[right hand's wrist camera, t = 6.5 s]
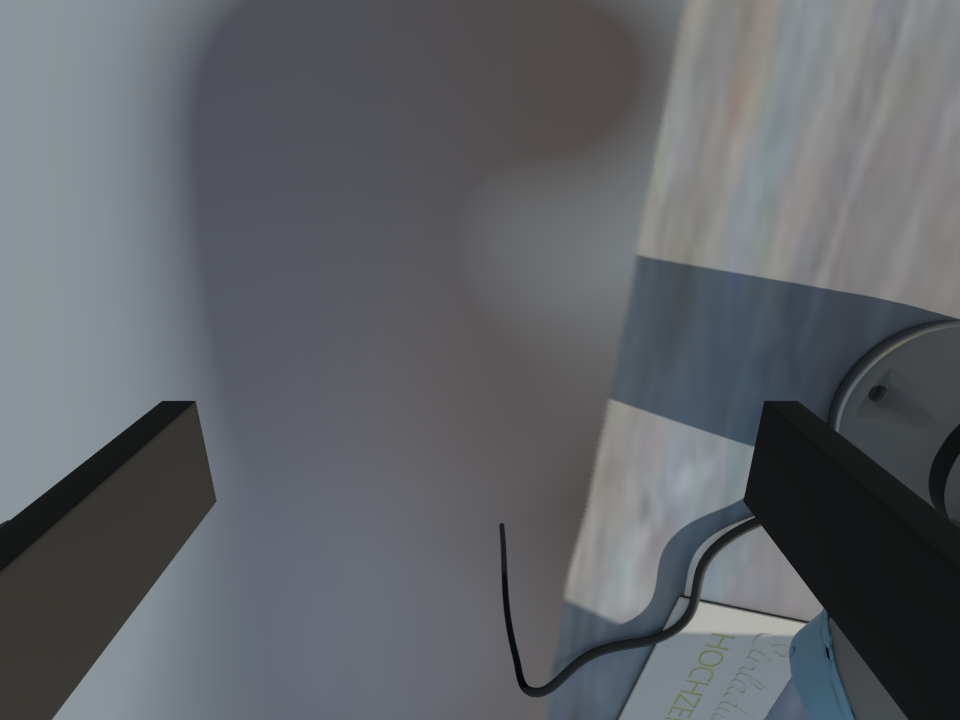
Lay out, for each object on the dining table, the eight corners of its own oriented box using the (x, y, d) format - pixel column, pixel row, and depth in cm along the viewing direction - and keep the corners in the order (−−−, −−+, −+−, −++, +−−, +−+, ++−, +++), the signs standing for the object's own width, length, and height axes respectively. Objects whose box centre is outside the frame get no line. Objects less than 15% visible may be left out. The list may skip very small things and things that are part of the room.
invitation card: (680, 598, 52) (823, 628, 53) (679, 596, 52) (821, 625, 53) (607, 744, 59) (734, 767, 61) (606, 742, 59) (732, 764, 61)
